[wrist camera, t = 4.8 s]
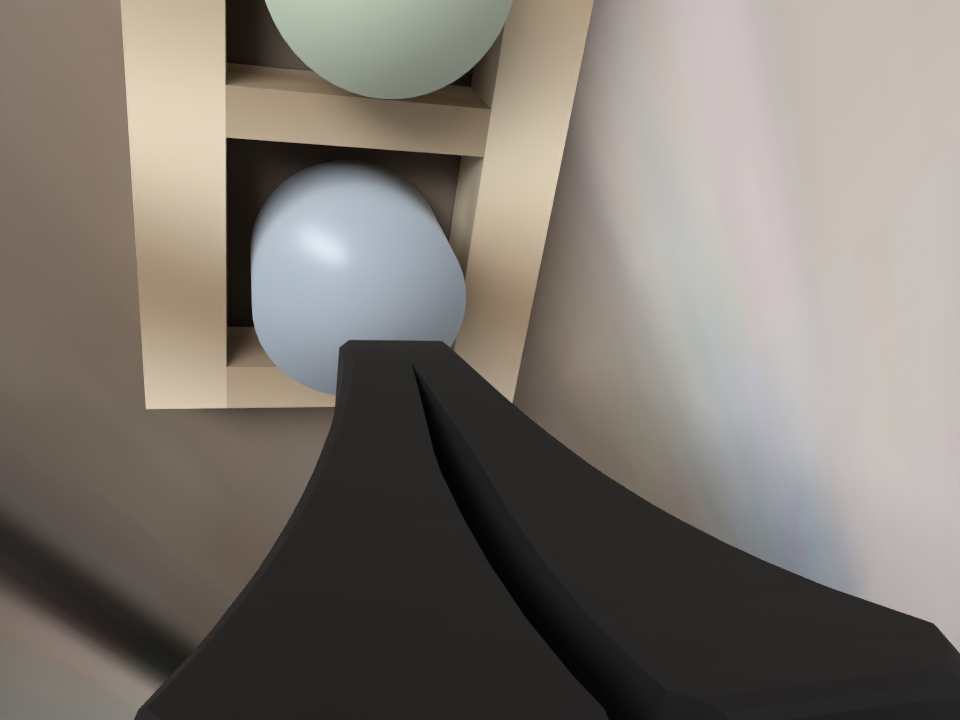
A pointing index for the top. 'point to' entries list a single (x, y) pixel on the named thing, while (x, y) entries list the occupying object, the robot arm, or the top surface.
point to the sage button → (390, 41)
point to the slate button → (349, 268)
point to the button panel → (338, 122)
